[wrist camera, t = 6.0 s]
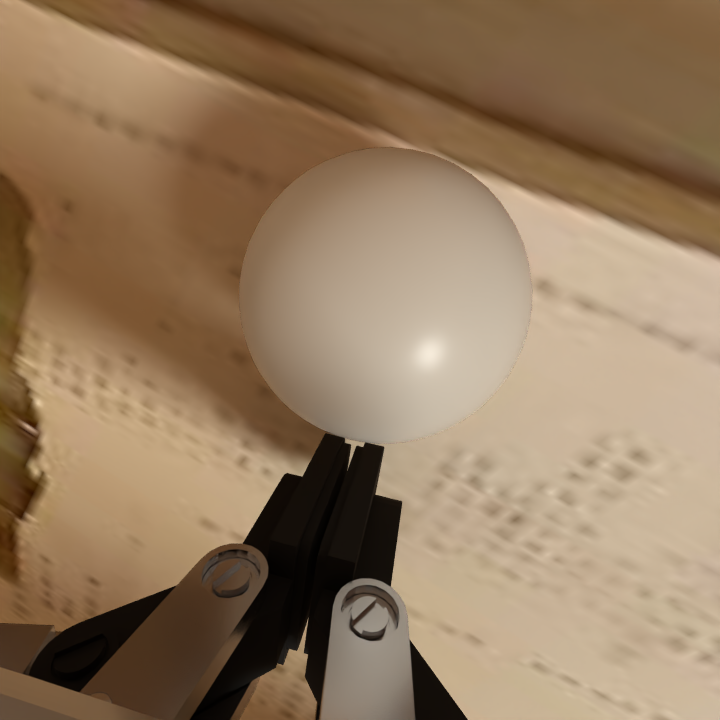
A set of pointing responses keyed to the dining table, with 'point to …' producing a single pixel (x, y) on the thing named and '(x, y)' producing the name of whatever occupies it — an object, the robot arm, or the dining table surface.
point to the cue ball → (385, 295)
